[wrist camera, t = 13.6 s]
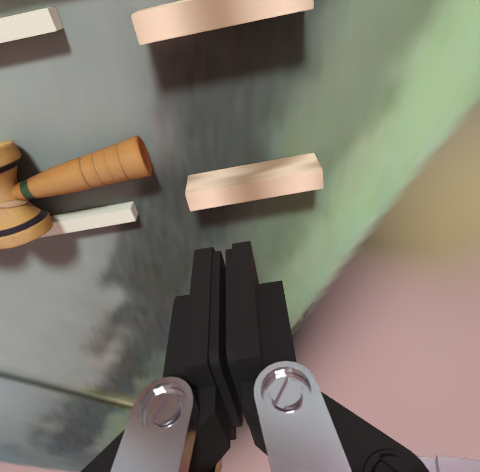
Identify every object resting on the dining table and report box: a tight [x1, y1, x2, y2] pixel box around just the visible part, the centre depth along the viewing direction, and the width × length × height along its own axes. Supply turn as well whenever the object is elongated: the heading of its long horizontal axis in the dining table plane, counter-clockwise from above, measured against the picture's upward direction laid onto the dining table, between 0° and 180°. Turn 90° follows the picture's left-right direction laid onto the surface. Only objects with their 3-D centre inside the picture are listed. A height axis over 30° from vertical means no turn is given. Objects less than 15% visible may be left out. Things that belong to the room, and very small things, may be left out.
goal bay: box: [0, 6, 138, 238], centre depth 27 cm, size 10×15×1 cm, turn 10°
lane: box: [131, 0, 323, 211], centre depth 25 cm, size 10×13×3 cm
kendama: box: [0, 136, 152, 249], centre depth 28 cm, size 8×6×18 cm
